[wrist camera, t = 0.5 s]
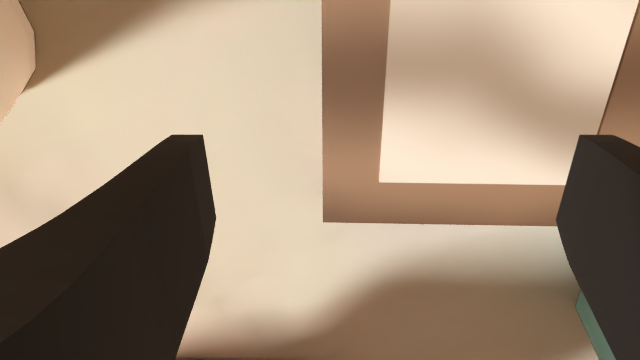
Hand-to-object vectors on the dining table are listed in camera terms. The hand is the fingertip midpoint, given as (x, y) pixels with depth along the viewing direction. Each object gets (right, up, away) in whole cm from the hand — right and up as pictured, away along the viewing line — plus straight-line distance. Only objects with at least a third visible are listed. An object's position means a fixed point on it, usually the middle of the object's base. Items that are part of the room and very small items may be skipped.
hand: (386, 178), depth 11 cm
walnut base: (+4, +4, +9) cm, 11 cm away
